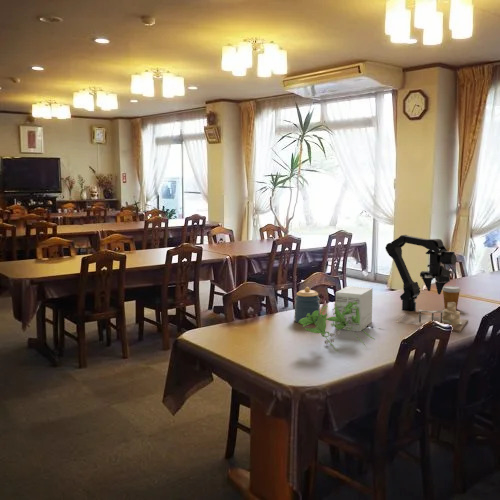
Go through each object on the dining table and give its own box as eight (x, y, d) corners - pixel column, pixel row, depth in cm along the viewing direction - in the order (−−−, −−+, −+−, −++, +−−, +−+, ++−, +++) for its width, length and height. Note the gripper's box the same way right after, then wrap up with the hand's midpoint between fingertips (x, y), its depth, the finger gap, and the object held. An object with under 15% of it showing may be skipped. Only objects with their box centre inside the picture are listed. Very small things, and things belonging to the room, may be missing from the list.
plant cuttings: (369, 355, 240) (338, 319, 251) (390, 330, 230) (357, 293, 242) (316, 374, 217) (285, 333, 228) (337, 347, 207) (303, 305, 219)
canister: (290, 322, 272) (290, 288, 270) (300, 316, 283) (300, 283, 281) (314, 325, 266) (314, 290, 264) (323, 319, 277) (323, 285, 275)
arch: (452, 323, 262) (453, 304, 261) (442, 319, 270) (443, 301, 269) (459, 323, 263) (460, 304, 262) (449, 319, 271) (450, 300, 270)
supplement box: (347, 320, 275) (347, 285, 273) (372, 323, 268) (373, 288, 266) (334, 328, 260) (334, 291, 258) (360, 332, 253) (361, 294, 251)
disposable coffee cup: (462, 310, 294) (463, 288, 293) (444, 310, 294) (445, 288, 293) (456, 306, 303) (456, 285, 302) (439, 306, 304) (439, 285, 302)
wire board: (395, 324, 266) (396, 310, 266) (407, 314, 285) (407, 302, 284) (460, 332, 251) (460, 317, 250) (467, 321, 270) (468, 308, 269)
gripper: (459, 265, 274) (458, 295, 276) (438, 260, 292) (437, 288, 294) (440, 266, 271) (439, 296, 273) (419, 261, 289) (419, 289, 291)
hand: (434, 292), depth 283 cm, fingers open, 9 cm apart
